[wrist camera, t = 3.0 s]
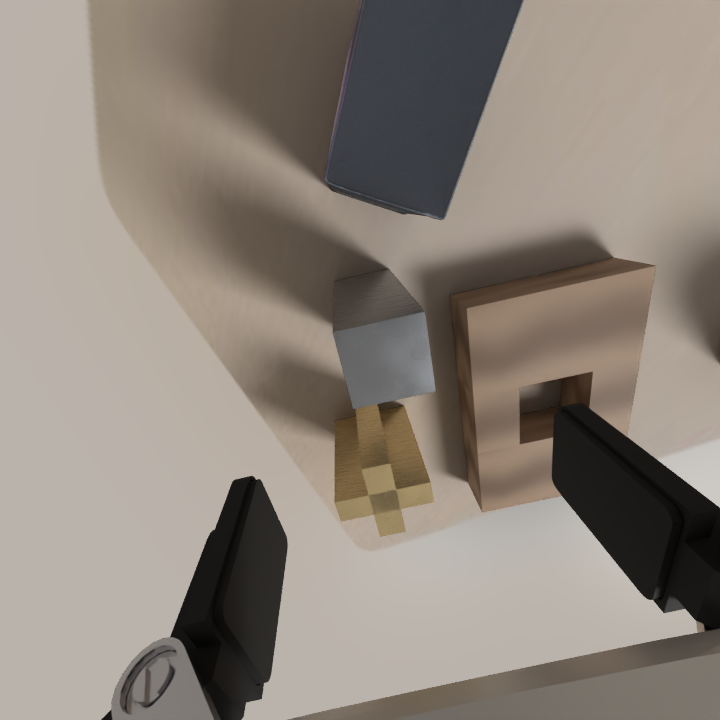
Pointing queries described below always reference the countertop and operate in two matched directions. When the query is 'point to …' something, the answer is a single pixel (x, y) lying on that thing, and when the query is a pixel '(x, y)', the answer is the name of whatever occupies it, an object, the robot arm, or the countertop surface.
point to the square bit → (381, 339)
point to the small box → (415, 99)
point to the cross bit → (379, 468)
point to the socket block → (544, 367)
